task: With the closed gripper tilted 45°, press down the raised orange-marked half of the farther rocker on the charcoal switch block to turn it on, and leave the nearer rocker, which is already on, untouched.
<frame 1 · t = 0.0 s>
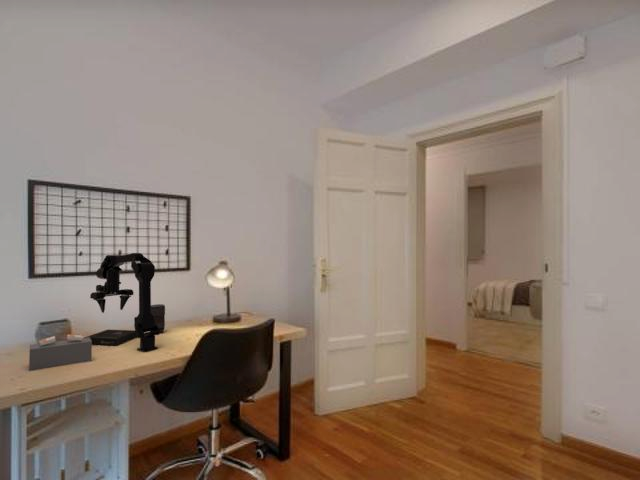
hand: (112, 311, 180), 15 cm above the table, tool pointing down, fingers open, 9 cm apart
dark grey tall block: (156, 333, 196), on the table
switch block: (61, 362, 145), on the table
portable cd player: (112, 342, 179), on the table
rocker 1: (47, 340, 143), point 10 cm above the table, hinge at 14.0°
rocker 2: (75, 337, 148), point 10 cm above the table, hinge at -14.0°
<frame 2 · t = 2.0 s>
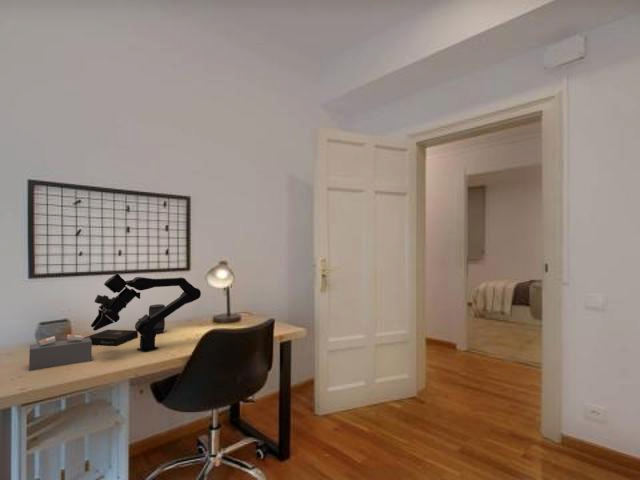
hand: (92, 328, 152), 13 cm above the table, tool tilted 45°, fingers open, 7 cm apart
nothing on the table moved.
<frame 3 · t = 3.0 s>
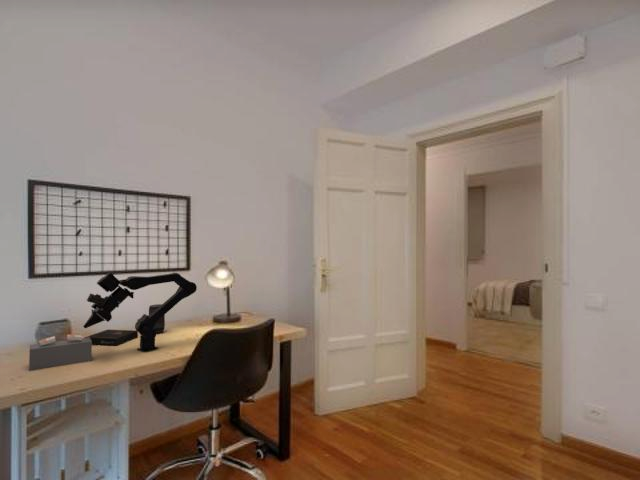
hand: (84, 327, 150), 13 cm above the table, tool tilted 45°, fingers closed
nothing on the table moved.
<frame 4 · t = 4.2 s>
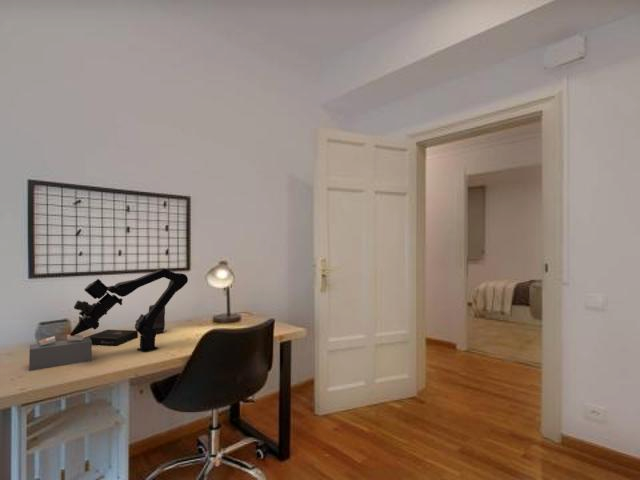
hand: (71, 335, 147), 11 cm above the table, tool tilted 45°, fingers closed, pressing on rocker 2
rocker 2: (75, 337, 148), point 10 cm above the table, hinge at -11.5°, touching gripper
everything else where it was.
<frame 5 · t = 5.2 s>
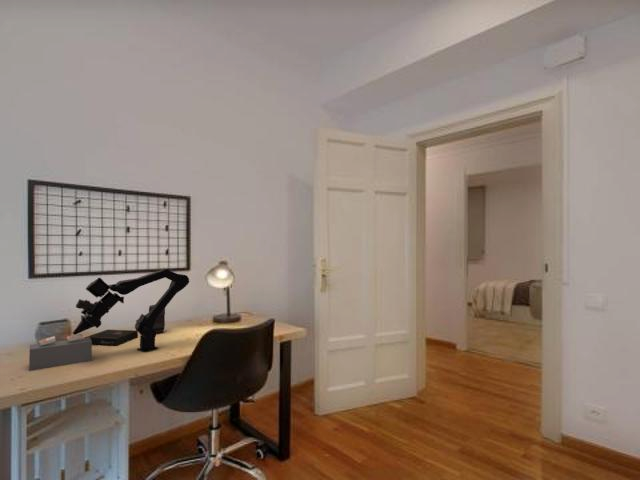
hand: (73, 334, 148), 11 cm above the table, tool tilted 45°, fingers closed
rocker 2: (75, 337, 148), point 10 cm above the table, hinge at 6.5°
everything else where it was.
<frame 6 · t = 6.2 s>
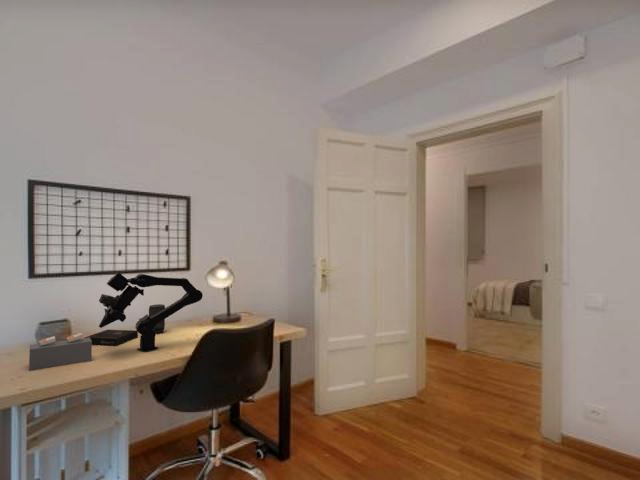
hand: (99, 327, 155), 12 cm above the table, tool tilted 40°, fingers closed
rocker 2: (75, 337, 148), point 10 cm above the table, hinge at 15.4°
everything else where it was.
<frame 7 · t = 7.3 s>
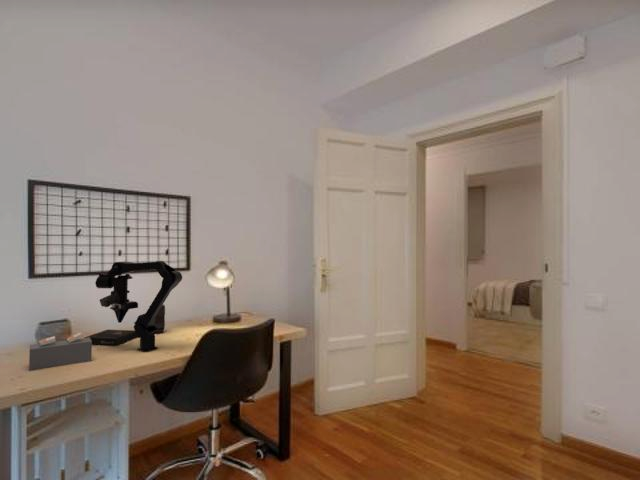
hand: (119, 322, 166), 12 cm above the table, tool pointing down, fingers closed
rocker 2: (74, 337, 148), point 10 cm above the table, hinge at 22.6°
everything else where it was.
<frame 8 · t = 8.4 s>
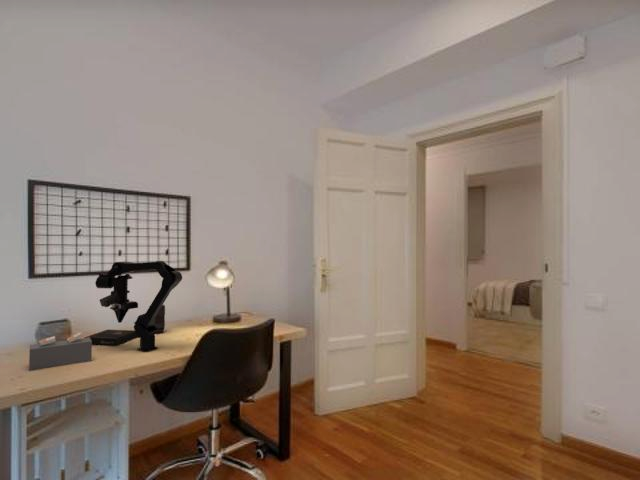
hand: (119, 322, 166), 12 cm above the table, tool pointing down, fingers closed
rocker 2: (74, 337, 148), point 10 cm above the table, hinge at 24.8°
everything else where it was.
at the end: rocker 2 at +25° (first picture: -14°); rocker 1 at +14° (first picture: +14°) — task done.
